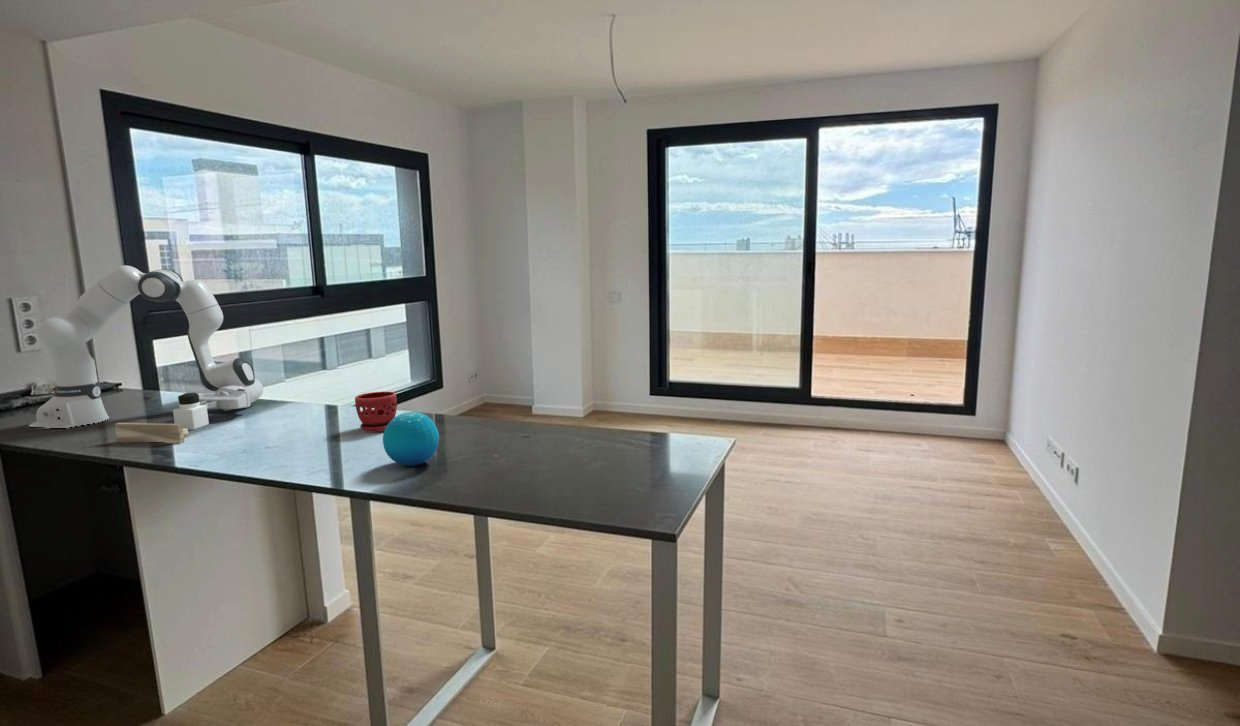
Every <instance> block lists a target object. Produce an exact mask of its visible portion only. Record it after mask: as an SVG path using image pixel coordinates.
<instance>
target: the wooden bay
mask: <svg viewBox="0 0 1240 726" xmlns="http://www.w3.org/2000/svg"><path fill="white" fill-rule="evenodd" d="M113 425H114V431H115V436H116V437H115V438H116V443H130V442H166V443H165V444H183V443H185V438H187V437H189V436H190V435H189V430H188V429H184V428H182V424H175V423H155V422H154V423H149V422H147V423H145V422H144V423H143V422H139V423H138V422H117V423H114V424H113Z"/></svg>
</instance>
